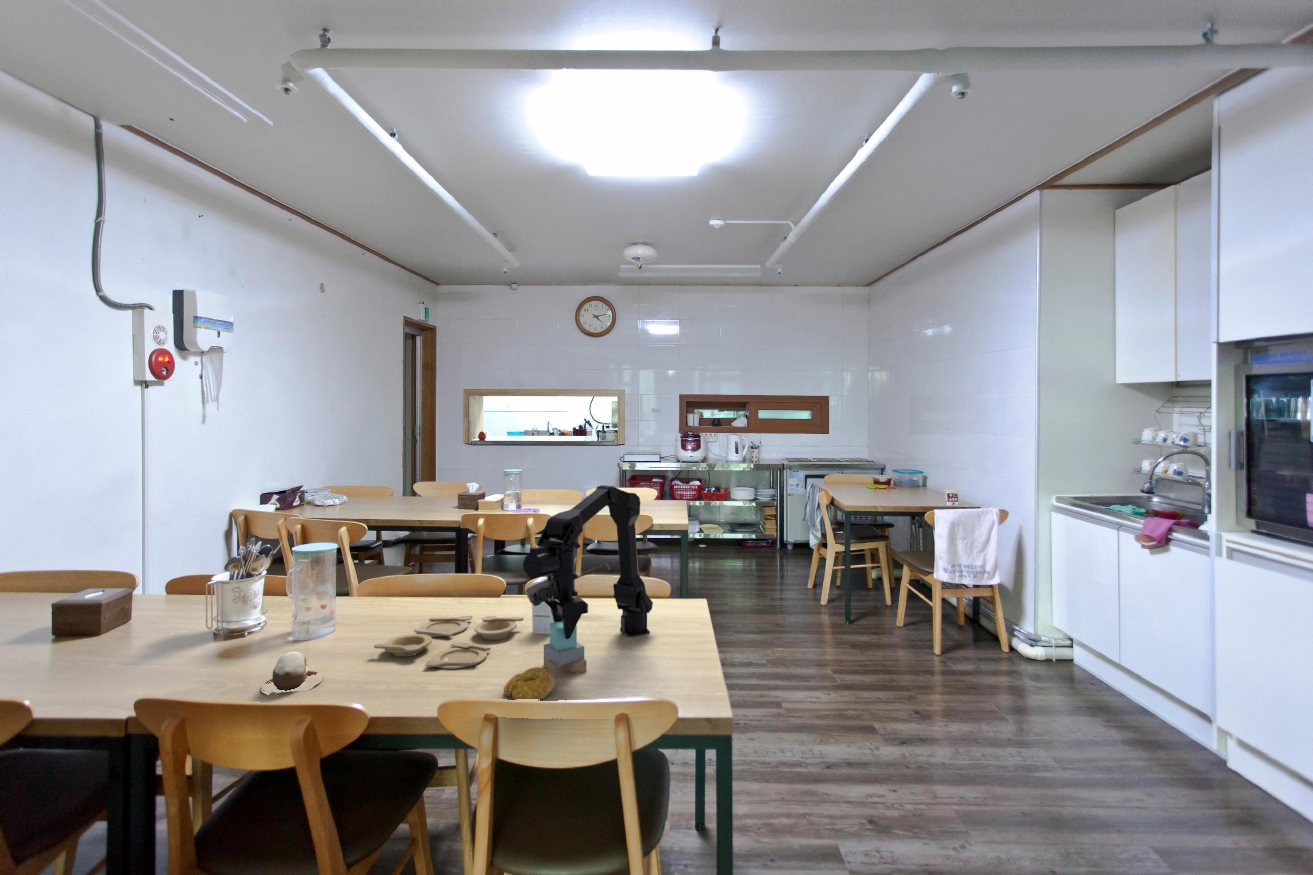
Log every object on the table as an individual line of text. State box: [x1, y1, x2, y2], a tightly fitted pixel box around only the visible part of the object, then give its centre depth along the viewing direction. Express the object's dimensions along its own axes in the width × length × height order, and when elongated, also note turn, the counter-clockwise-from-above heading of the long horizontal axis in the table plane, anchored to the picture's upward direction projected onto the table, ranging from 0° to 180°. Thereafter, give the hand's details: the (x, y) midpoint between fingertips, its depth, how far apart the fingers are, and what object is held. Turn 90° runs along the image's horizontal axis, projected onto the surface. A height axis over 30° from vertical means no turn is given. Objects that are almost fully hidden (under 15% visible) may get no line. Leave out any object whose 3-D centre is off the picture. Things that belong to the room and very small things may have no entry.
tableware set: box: [373, 615, 524, 670], centre depth 167 cm, size 35×29×4 cm
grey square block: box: [543, 642, 585, 666], centre depth 151 cm, size 7×7×3 cm
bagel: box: [503, 666, 555, 700], centre depth 137 cm, size 10×11×5 cm
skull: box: [265, 651, 318, 691], centre depth 141 cm, size 12×10×10 cm
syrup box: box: [531, 576, 554, 635], centre depth 176 cm, size 6×6×14 cm
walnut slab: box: [543, 656, 588, 678], centre depth 151 cm, size 8×8×3 cm
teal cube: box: [549, 621, 578, 651], centre depth 150 cm, size 5×5×5 cm
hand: (562, 634), depth 150 cm, fingers open, 7 cm apart
